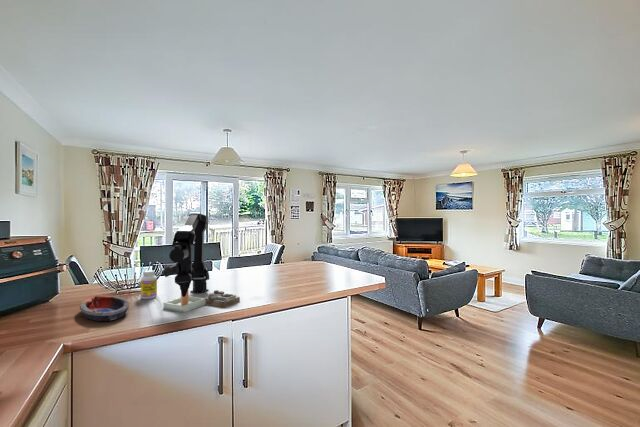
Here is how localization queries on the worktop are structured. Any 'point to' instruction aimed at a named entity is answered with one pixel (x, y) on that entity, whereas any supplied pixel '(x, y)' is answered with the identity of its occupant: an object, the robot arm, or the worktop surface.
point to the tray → (177, 306)
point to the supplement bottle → (148, 285)
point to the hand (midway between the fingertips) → (184, 293)
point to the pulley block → (221, 299)
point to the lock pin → (185, 299)
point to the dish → (104, 307)
